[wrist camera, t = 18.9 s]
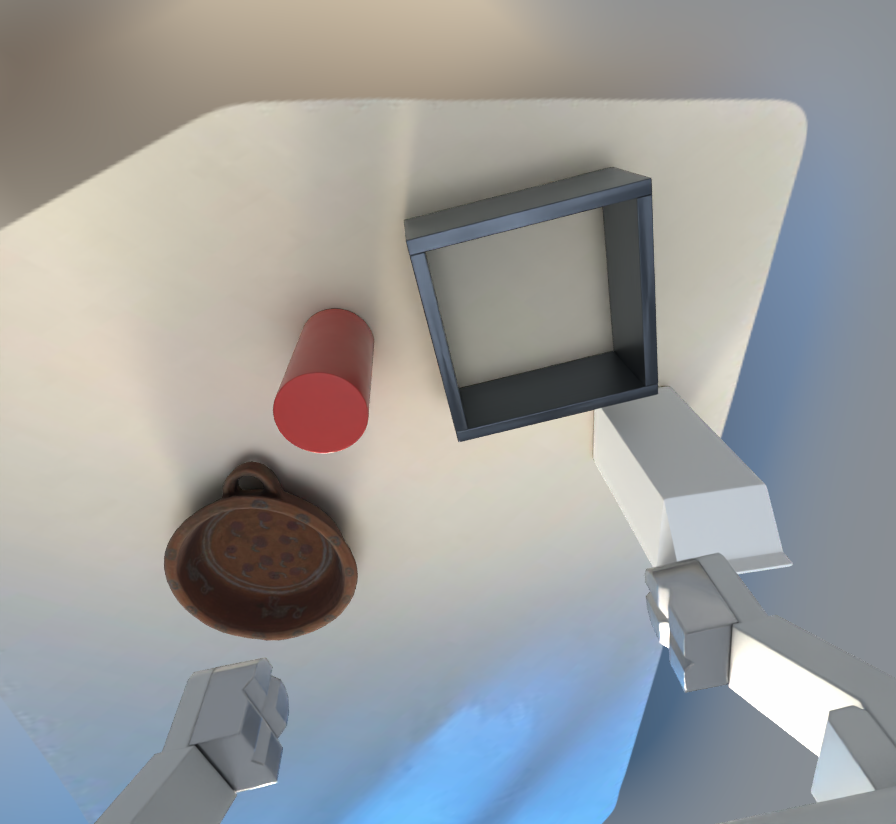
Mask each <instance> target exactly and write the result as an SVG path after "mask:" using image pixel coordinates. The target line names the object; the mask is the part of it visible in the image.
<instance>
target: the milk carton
mask: <svg viewBox="0 0 896 824" xmlns="http://www.w3.org/2000/svg"><path fill="white" fill-rule="evenodd" d="M593 460H594V462H595V464H596V465H597V467H598V469H599V471H600V473H601V474H602V476H603V478H604V480H605V482H606V483H607V485H608V487H609V489H610V491H611V492H612V494H613V496H614V498H615V500H616V501H617V503H618V505H619V507H620V508H621V510H622V512H623V514H624V516H625V517H626V519H627V521H628V523H629V525H630V526H631V528H632V530H633V532H634V534H635V535H636V537H637V539H638V541H639V542H640V544H641V546H642V548H643V550H644V551H645V553H646V555H647V557H648V559H649V560H650V562H651V564H652V566H653V567H657V566H661V565H665V564H669V563H673V562H677V561H681V560H686V559H690V558H696V557H701V556H705V555H709V554H714V553H718V552H719V553H720V554H722V555H723V556H724V557H725V558H726V560H727V561H728V562H729V564H730V565H731V566H732V568H733V569H734V570H735V572H736V573H737V574H742V573H749V572H755V571H761V570H768V569H775V568H782V567H788V566H791V565H792V564H793V563H792V562H791V561H790V560H789V558H788V557H787V556H786V555H785V554H784V553H783V550H782V546H781V542H780V538H779V534H778V530H777V526H776V522H775V518H774V514H773V510H772V506H771V502H770V498H769V494H768V490H767V487H766V485H765V484H764V483H763V482H762V481H761V480H760V479H759V478H758V477H757V476H756V475H755V474H754V472H752V470H751V469H750V468H749V467H748V466H747V465H746V464H745V463H744V462H743V461H742V460H741V459H740V458H739V457H738V456H737V455H736V454H735V453H734V452H733V451H732V450H731V449H730V448H729V447H728V446H727V445H726V444H725V443H724V442H723V441H722V440H721V439H720V437H719V436H718V435H717V434H716V433H715V432H714V431H713V430H712V429H711V428H710V427H709V426H708V425H707V424H706V423H705V422H704V421H703V420H702V419H701V418H700V417H699V416H698V415H697V414H696V413H695V412H694V411H693V410H692V409H691V408H690V407H689V406H688V405H687V403H686V402H685V401H684V400H683V399H682V398H681V397H680V396H679V395H678V394H677V393H676V392H675V391H674V390H673V389H672V388H671V387H669V386H668V387H660V388H658V394H657V395H653V396H649V397H645V398H641V399H636V400H632V401H628V402H624V403H620V404H616V405H612V406H607V407H603V408H599V409H595V410H594V451H593Z"/></svg>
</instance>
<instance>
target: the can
mask: <svg viewBox="0 0 896 824" xmlns="http://www.w3.org/2000/svg"><path fill="white" fill-rule="evenodd" d="M373 351H374V339H373V335H372V332H371V330H370V328H369V327H368V325H367V324H366V323H365V321H364V320H363V319H361V318H360V317H359V316H357V315H356V314H354V313H352V312H350V311H347V310H343V309H327V310H323V311H320V312H318V313H316V314H315V315H313V316H312V317H311V318H310V319H309V320H308V321H307V322H306V324H305V325H304V327H303V329H302V332H301V334H300V337H299V339H298V342H297V344H296V347H295V349H294V352H293V354H292V357H291V359H290V362H289V365H288V367H287V370H286V372H285V375H284V377H283V380H282V382H281V385H280V387H279V390H278V392H277V395H276V397H275V401H274V405H273V415H274V420H275V423H276V425H277V427H278V429H279V431H280V432H281V433H282V435H283V436H284V437H285V438H286V439H287V440H288V441H290V442H291V443H292V444H294V445H295V446H297V447H299V448H301V449H304V450H306V451H310V452H315V453H332V452H337V451H341V450H343V449H346V448H348V447H349V446H351V445H352V444H354V443H355V442H356V441H357V440H358V439H359V438H360V437H361V436H362V434H363V433H364V431H365V429H366V426H367V423H368V417H369V403H370V390H371V377H372V364H373Z"/></svg>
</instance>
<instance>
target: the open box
mask: <svg viewBox="0 0 896 824" xmlns="http://www.w3.org/2000/svg"><path fill="white" fill-rule="evenodd" d="M600 207H603V218H604V231H605V244H606V257H607V270H608V283H609V296H610V309H611V322H612V335H613V348H614V351H611V352H607V353H603V354H599V355H595V356H591V357H587V358H583V359H579V360H575V361H570V362H566V363H562V364H558V365H554V366H550V367H546V368H542V369H538V370H534V371H529V372H525V373H521V374H517V375H513V376H509V377H505V378H501V379H497V380H493V381H488V382H484V383H480V384H476V385H472V386H468V387H464V388H460V389H459V387H458V383H457V379H456V375H455V371H454V367H453V362H452V358H451V354H450V350H449V346H448V342H447V338H446V334H445V330H444V326H443V322H442V318H441V314H440V310H439V306H438V302H437V297H436V293H435V289H434V285H433V281H432V277H431V273H430V269H429V265H428V261H427V257H426V253H425V252H426V251H430V250H434V249H438V248H442V247H446V246H450V245H454V244H458V243H462V242H466V241H470V240H474V239H478V238H482V237H485V236H489V235H493V234H497V233H501V232H505V231H509V230H513V229H517V228H521V227H525V226H529V225H533V224H537V223H541V222H545V221H548V220H552V219H556V218H560V217H564V216H568V215H572V214H576V213H580V212H584V211H588V210H592V209H596V208H600ZM404 226H405V237H406V243H407V247H408V251H409V255H410V259H411V263H412V266H413V270H414V274H415V278H416V282H417V285H418V289H419V293H420V297H421V301H422V305H423V308H424V312H425V316H426V320H427V324H428V328H429V331H430V335H431V339H432V343H433V347H434V350H435V354H436V358H437V362H438V366H439V370H440V373H441V377H442V381H443V385H444V389H445V393H446V396H447V400H448V404H449V408H450V412H451V415H452V419H453V423H454V427H455V431H456V435H457V438H458V442H462V441H466V440H470V439H474V438H479V437H483V436H487V435H491V434H495V433H499V432H503V431H508V430H512V429H516V428H520V427H524V426H528V425H533V424H537V423H541V422H545V421H549V420H553V419H558V418H562V417H566V416H570V415H574V414H578V413H582V412H587V411H591V410H595V409H599V408H603V407H607V406H612V405H616V404H620V403H624V402H628V401H632V400H636V399H641V398H645V397H649V396H653V395H657V394H658V366H657V335H656V304H655V273H654V241H653V210H652V180H651V178H649V177H646V176H642V175H639V174H635V173H632V172H629V171H625V170H622V169H618V168H615V167H609V168H605V169H602V170H598V171H594V172H590V173H586V174H582V175H578V176H574V177H570V178H566V179H563V180H559V181H555V182H551V183H547V184H543V185H539V186H535V187H531V188H527V189H524V190H520V191H516V192H512V193H508V194H504V195H500V196H496V197H492V198H488V199H485V200H481V201H477V202H473V203H469V204H465V205H461V206H457V207H453V208H449V209H445V210H442V211H438V212H434V213H430V214H426V215H422V216H418V217H414V218H410V219H406V220H404Z"/></svg>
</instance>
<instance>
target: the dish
mask: <svg viewBox="0 0 896 824" xmlns="http://www.w3.org/2000/svg"><path fill="white" fill-rule="evenodd" d="M242 476H253V477H256V478H258V479H259V480H260V481H261V482H262V483H263V484H264V489H250V490H244V489H241V488H240V486H239V484H238V480H239V479H240V478H241V477H242ZM164 569H165V575H166V579H167V582H168V584H169V586H170V589H171V590H172V592H173V594H174V596H175V597H176V599H177V600H178V601H179V603H180V604H181V605H182V606H183V607H184V608H185V609H186V610H187V611H188V612H189V613H190V614H192V615H193V616H194V617H196V618H197V619H199V620H200V621H201V622H203V623H204V624H206V625H207V626H209V627H211V628H214V629H216V630H218V631H220V632H223V633H227V634H230V635H234V636H240V637H245V638H251V639H261V640H284V639H289V638H294V637H298V636H301V635H304V634H308V633H310V632H313V631H315V630H317V629H319V628H321V627H323V626H325V625H327V624H328V623H330V622H331V621H333V620H334V619H336V618H337V617H338V616H339V615H340V614H341V613H342V612H343V611H344V609H345V608H346V607H347V605H348V604H349V603H350V601H351V599H352V597H353V595H354V592H355V589H356V585H357V578H358V573H357V566H356V562H355V559H354V557H353V555H352V552H351V550H350V548H349V547H348V545H347V544H346V542H345V541H344V539H343V536H342V534H341V532H340V530H339V529H338V527H337V525H336V524H335V522H334V521H333V520H332V519H331V518H330V517H329V516H328V515H327V514H326V513H324V512H323V511H322V510H321V509H319V508H318V507H317V506H315V505H313V504H312V503H310V502H308V501H306V500H304V499H302V498H300V497H297V496H295V495H292V494H290V493H287V492H285V491H284V490H283V488H282V486H281V485H280V483H279V481H278V479H277V477H276V475H275V474H274V472H273V471H272V470H271V469H270V468H269V467H267V466H266V465H264V464H261V463H258V462H253V461H251V462H246V463H242V464H241V465H239V466H237V467H236V468H235V469H234V470H233V471H232V472H231V473H230V475H229V476H228V477H227V478H226V480H225V482H224V485H223V495H222V498H221V499H219V500H217V501H215V502H214V503H212V504H209V505H207V506H205V507H203V508H202V509H200V510H198V511H197V512H196V513H194V514H193V515H192V516H190V517H189V518H188V519H186V520H185V521H184V522H183V523H182V524H181V526H180V527H179V528H178V529H177V530H176V531H175V533H174V534H173V536H172V537H171V539H170V541H169V543H168V545H167V548H166V551H165V556H164Z"/></svg>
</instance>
